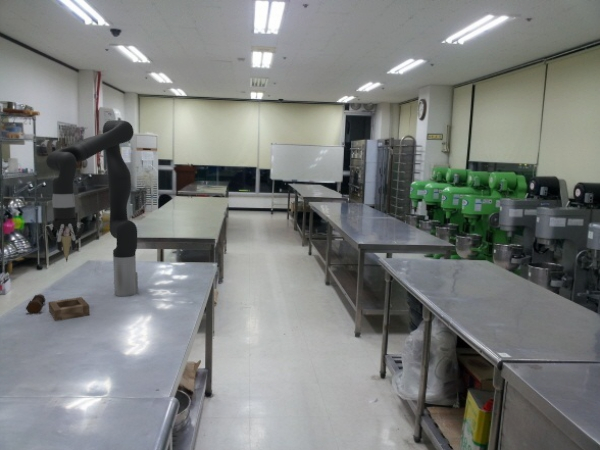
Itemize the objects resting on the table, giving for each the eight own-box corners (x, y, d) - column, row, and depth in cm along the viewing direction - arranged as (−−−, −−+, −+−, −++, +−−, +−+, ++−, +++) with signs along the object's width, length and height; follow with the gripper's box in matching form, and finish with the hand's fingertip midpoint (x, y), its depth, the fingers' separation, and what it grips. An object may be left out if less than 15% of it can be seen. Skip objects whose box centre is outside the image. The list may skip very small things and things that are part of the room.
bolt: (42, 306, 197) (36, 317, 183) (30, 301, 195) (23, 311, 181) (50, 293, 197) (44, 303, 184) (37, 288, 196) (31, 298, 182)
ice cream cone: (62, 260, 184) (60, 222, 181) (77, 260, 184) (76, 222, 182) (56, 264, 178) (54, 224, 176) (71, 264, 179) (70, 225, 176)
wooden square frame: (81, 306, 192) (81, 297, 192) (89, 315, 183) (89, 305, 182) (49, 311, 185) (48, 301, 185) (55, 321, 176) (54, 310, 175)
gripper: (81, 203, 185) (83, 246, 188) (41, 205, 176) (43, 250, 179) (86, 205, 179) (88, 250, 182) (44, 207, 170) (47, 254, 173)
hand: (66, 250), depth 180 cm, fingers closed on ice cream cone, 3 cm apart
